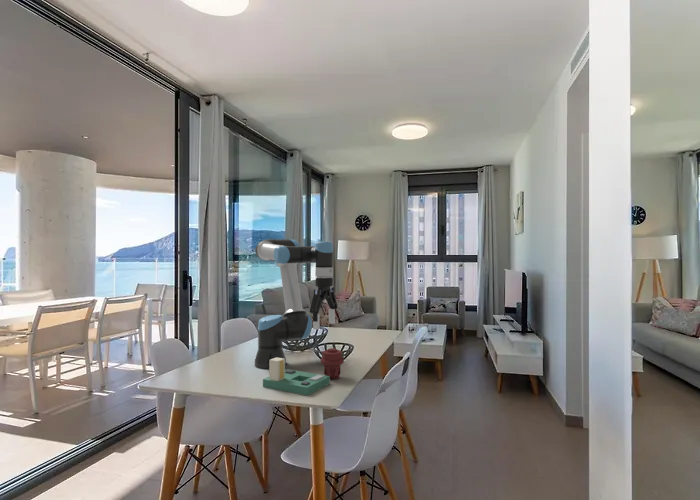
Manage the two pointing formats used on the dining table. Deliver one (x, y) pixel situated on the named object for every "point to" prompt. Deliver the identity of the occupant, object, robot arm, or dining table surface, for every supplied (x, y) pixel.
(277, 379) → the plug
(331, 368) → the mechanical component
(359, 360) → the dining table surface
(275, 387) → the board
